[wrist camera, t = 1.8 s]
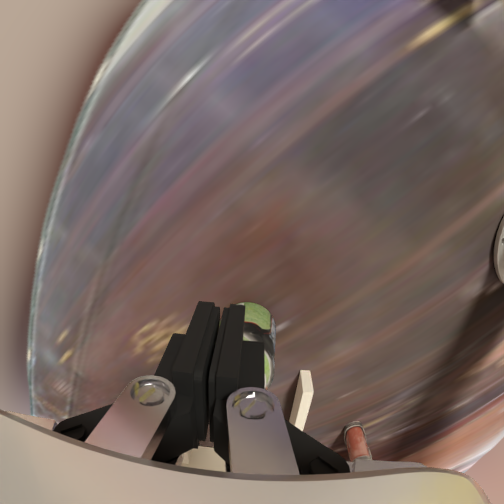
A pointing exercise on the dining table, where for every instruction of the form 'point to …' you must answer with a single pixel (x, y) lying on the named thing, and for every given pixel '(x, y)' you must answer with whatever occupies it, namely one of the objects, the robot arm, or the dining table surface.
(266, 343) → the beverage can
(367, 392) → the dining table surface
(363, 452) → the lighter
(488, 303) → the dining table surface
